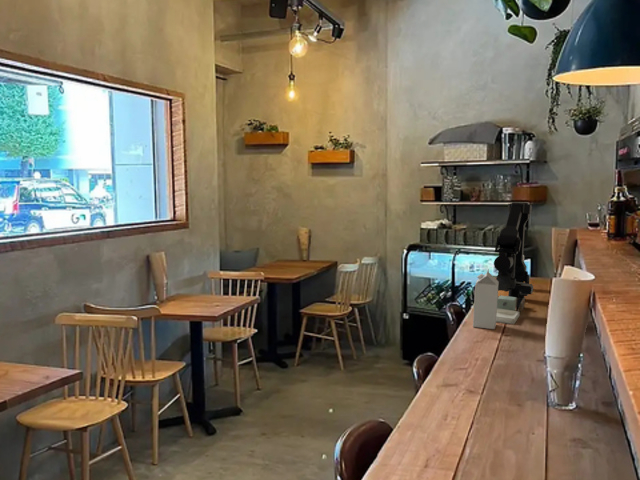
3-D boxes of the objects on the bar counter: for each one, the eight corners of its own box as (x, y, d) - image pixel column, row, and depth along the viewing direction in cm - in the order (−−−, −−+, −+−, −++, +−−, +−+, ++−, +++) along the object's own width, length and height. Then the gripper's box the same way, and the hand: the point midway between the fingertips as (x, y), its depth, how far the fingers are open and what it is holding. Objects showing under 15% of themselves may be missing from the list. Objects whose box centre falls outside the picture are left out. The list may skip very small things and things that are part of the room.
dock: (496, 303, 239) (497, 296, 239) (524, 307, 234) (524, 299, 234) (493, 307, 233) (493, 299, 233) (521, 310, 228) (522, 303, 228)
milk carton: (495, 324, 208) (499, 269, 206) (494, 329, 202) (498, 273, 199) (474, 322, 211) (477, 268, 208) (472, 327, 204) (476, 271, 201)
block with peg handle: (499, 308, 232) (500, 295, 232) (515, 310, 230) (516, 297, 229) (495, 313, 225) (496, 299, 224) (511, 315, 222) (512, 301, 222)
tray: (486, 312, 225) (487, 307, 224) (519, 316, 220) (519, 311, 219) (479, 319, 214) (480, 314, 214) (513, 324, 209) (514, 318, 209)
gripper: (476, 268, 218) (473, 310, 220) (530, 273, 210) (527, 317, 212) (482, 263, 228) (480, 304, 230) (534, 268, 220) (531, 311, 222)
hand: (503, 309), depth 223 cm, fingers open, 9 cm apart
